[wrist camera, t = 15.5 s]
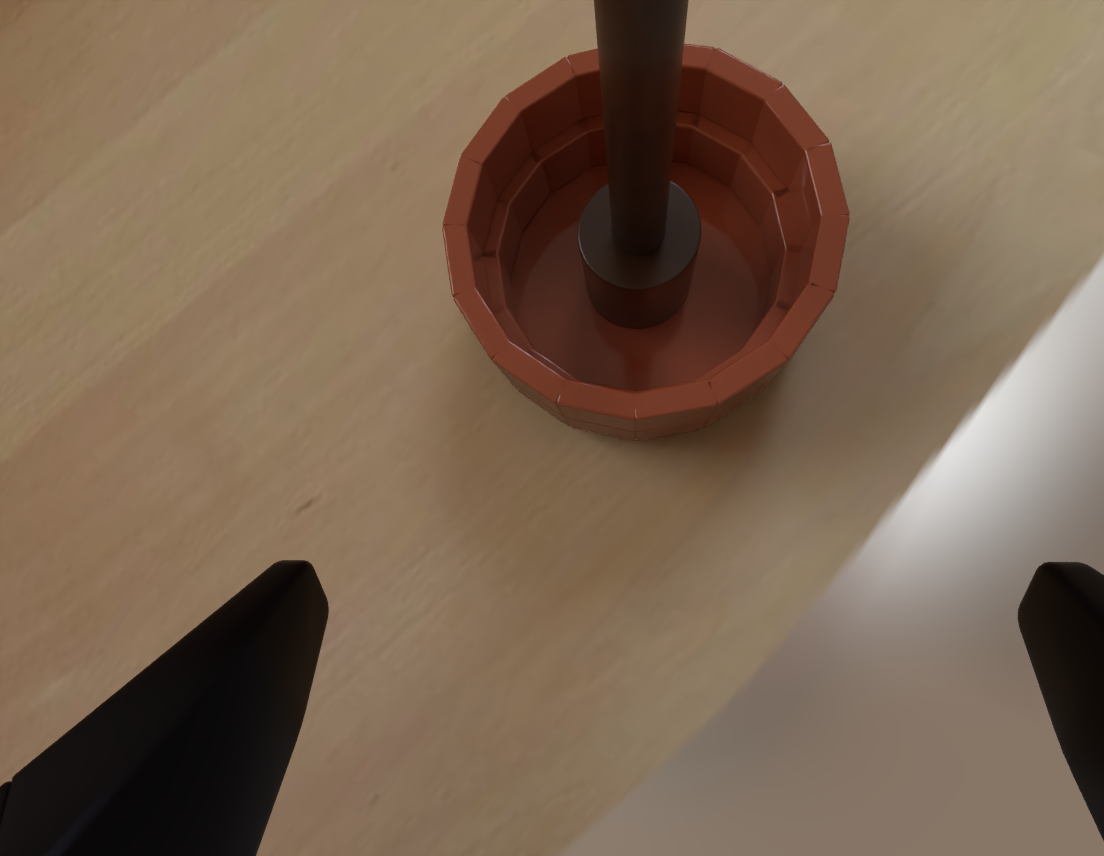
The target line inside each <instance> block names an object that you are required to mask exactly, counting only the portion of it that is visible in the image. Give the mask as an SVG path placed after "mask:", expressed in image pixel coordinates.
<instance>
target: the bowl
mask: <svg viewBox="0 0 1104 856" xmlns="http://www.w3.org/2000/svg"><path fill="white" fill-rule="evenodd" d="M670 181H672V182H674V183H675V184H677V185H678V186H680V187H681V188H682V189H683V190H684V191H685V192H686V193H687V194H688V195H689V196H690V198H691V199H692V200H693V202H694V204H695V206H696V207H697V210H698V213H699V216H700V220H701V240H700V244H699V249H698V253H697V258H696V262H695V267H694V271H693V276H692V280H691V285H690V289H689V292H688V295H687V298H686V299H685V301H684V303H683V305H682V306H681V307H680V309H679V310H678V311H677V312H676V313H675V314H674V315H673V316H671V317H670V318H669V319H667V320H666V321H664V322H662V323H660V324H658V325H654V326H651V327H646V328H628V327H623V326H620V325H617V324H615V323H613V322H611V321H609V320H608V319H606V318H605V317H604V316H603V315H601V314H600V313H599V311H598V310H597V309H596V308H595V306H594V305H593V303H592V301H591V299H590V297H589V294H588V290H587V285H586V280H585V275H584V270H583V265H582V260H581V255H580V250H579V245H578V236H577V231H578V223H579V219H580V216H581V214H582V211H583V209H584V207H585V205H586V204H587V202H588V201H589V199H590V198H591V197H592V196H593V195H594V194H595V193H596V192H597V191H598V190H599V189H600V188H601V187H603V186H604V185H606V184H607V183H608V173H607V160H606V148H605V135H604V122H603V109H602V97H601V84H600V71H599V58H598V49H593V50H589V51H585V52H581V53H577V54H572V55H569V56H568V57H564V58H563V59H561V60H559V61H558V62H556V63H555V64H553V65H552V66H550V67H549V68H547V69H546V70H544V71H543V72H541V73H540V74H538V75H537V76H535V77H533V78H532V79H530V80H529V81H527V82H526V83H524V84H523V85H521V86H520V87H518V88H517V89H515V90H514V91H512V92H510V93H509V94H507V95H506V96H505V98H502V100H501V101H500V102H499V104H498V105H497V107H496V108H495V109H494V111H493V112H492V113H491V115H490V116H489V117H488V119H487V120H486V121H485V123H484V124H483V126H482V127H481V128H480V130H479V131H478V132H477V134H476V135H475V136H474V138H473V139H472V140H471V142H470V143H469V145H468V146H467V147H466V149H465V150H464V151H463V153H462V154H461V158H460V160H459V163H458V167H457V171H456V175H455V179H454V182H453V186H452V190H451V194H450V198H449V202H448V205H447V209H446V213H445V217H444V221H443V229H442V231H443V238H444V245H445V251H446V258H447V265H448V272H449V279H450V286H451V292H452V296H453V297H454V302H455V303H456V305H457V306H458V308H459V310H460V311H461V313H462V314H463V316H464V318H465V319H466V321H467V322H468V324H469V325H470V327H471V329H472V330H473V332H474V333H475V335H476V337H477V338H478V340H479V341H480V343H481V345H482V346H483V348H484V349H485V351H486V353H487V354H488V356H489V357H490V359H491V360H492V361H493V362H494V364H495V365H496V366H497V367H498V368H499V369H500V371H501V372H502V373H503V374H504V375H505V376H506V378H507V379H508V380H509V381H510V382H511V383H512V385H513V386H514V387H515V388H516V389H517V390H518V392H519V393H521V394H522V395H524V396H525V397H527V398H528V399H530V400H531V401H532V402H534V403H535V404H537V405H538V406H540V407H541V408H543V409H544V410H546V411H547V412H548V413H550V414H551V415H553V416H554V417H556V418H557V419H559V420H560V421H561V422H563V423H564V424H566V425H567V426H571V427H572V428H575V429H580V430H585V431H590V432H594V433H599V434H604V435H608V436H613V437H618V438H623V439H627V440H632V441H633V440H635V439H636V440H645V439H650V438H656V437H661V436H667V435H672V434H678V433H684V432H689V431H695V430H700V429H701V428H705V427H707V426H709V425H710V424H712V423H713V422H715V421H716V420H718V419H720V418H721V417H723V416H724V415H726V414H727V413H729V412H731V411H732V410H734V409H735V408H737V407H739V406H740V405H742V404H743V403H745V402H746V401H748V400H750V399H751V398H753V397H754V396H756V395H757V394H759V393H760V391H762V390H763V389H764V388H765V387H766V385H767V384H768V383H769V382H770V381H771V380H772V379H773V378H774V377H775V375H776V374H777V373H778V372H779V371H780V370H781V369H782V368H783V367H784V365H785V364H786V363H787V362H788V361H789V360H790V359H791V357H792V356H793V355H794V353H795V352H796V350H797V349H798V347H799V346H800V344H801V343H802V342H803V340H804V339H805V337H806V336H807V334H808V333H809V331H810V330H811V329H812V327H813V326H814V324H815V323H816V321H817V320H818V318H819V317H820V315H821V314H822V313H823V311H824V310H825V308H826V307H827V305H828V304H829V302H830V301H831V300H832V298H833V297H834V293H835V292H836V290H837V284H838V279H839V273H840V268H841V263H842V257H843V252H844V246H845V241H846V235H847V230H848V225H849V219H850V218H849V210H848V207H847V203H846V199H845V195H844V191H843V187H842V183H841V179H840V176H839V172H838V168H837V164H836V160H835V156H834V152H833V149H832V145H831V143H829V139H828V138H827V137H826V136H825V134H824V133H823V132H822V131H821V129H820V128H819V127H818V126H817V124H816V123H815V122H814V121H813V119H812V118H811V117H810V116H809V115H808V113H807V112H806V111H805V110H804V108H803V107H802V106H801V105H800V103H799V102H798V101H797V100H796V98H795V97H794V96H793V95H792V94H791V92H790V91H789V90H788V89H787V87H786V86H785V85H782V82H781V81H779V80H777V79H775V78H773V77H771V76H769V75H767V74H766V73H764V72H762V71H760V70H758V69H756V68H754V67H752V66H751V65H749V64H747V63H745V62H743V61H741V60H739V59H737V58H736V57H734V56H732V55H730V54H728V53H726V52H724V51H722V50H721V49H719V48H717V49H715V48H714V47H708V46H699V45H691V44H684V50H683V60H682V70H681V80H680V90H679V100H678V110H677V120H676V130H675V140H674V150H673V160H672V170H671V180H670Z"/></svg>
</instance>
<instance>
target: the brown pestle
mask: <svg viewBox="0 0 1104 856" xmlns="http://www.w3.org/2000/svg"><path fill="white" fill-rule="evenodd" d="M594 7H595V20H596V33H597V46H598V58H599V71H600V84H601V97H602V109H603V122H604V135H605V148H606V160H607V173H608V183H607V184H606V185H604V186H603V187H601V188H600V189H599V190H598V191H597V192H596V193H595V194H594V195H593V196H592V197H591V198H590V199H589V201H588V202H587V204H586V205H585V207H584V209H583V211H582V214H581V216H580V219H579V223H578V231H577V236H578V245H579V250H580V255H581V260H582V265H583V270H584V275H585V280H586V285H587V290H588V294H589V297H590V299H591V301H592V303H593V305H594V306H595V308H596V309H597V310H598V311H599V313H600V314H601V315H603V316H604V317H605V318H606V319H608V320H609V321H611V322H613V323H615V324H617V325H620V326H623V327H628V328H646V327H651V326H654V325H658V324H660V323H662V322H664V321H666V320H667V319H669V318H670V317H671V316H673V315H674V314H675V313H676V312H677V311H678V310H679V309H680V307H681V306H682V305H683V303H684V301H685V299H686V298H687V295H688V292H689V289H690V285H691V280H692V276H693V271H694V267H695V262H696V258H697V253H698V249H699V244H700V240H701V220H700V216H699V213H698V210H697V207H696V206H695V204H694V202H693V200H692V199H691V198H690V196H689V195H688V194H687V193H686V192H685V191H684V190H683V189H682V188H681V187H680V186H678V185H677V184H675V183H674V182H672V181H670V180H671V170H672V160H673V150H674V140H675V130H676V120H677V110H678V100H679V90H680V80H681V70H682V60H683V50H684V39H685V29H686V19H687V9H688V0H594Z"/></svg>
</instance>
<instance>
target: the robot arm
mask: <svg viewBox="0 0 1104 856" xmlns="http://www.w3.org/2000/svg"><path fill="white" fill-rule="evenodd" d="M328 612H329V607H328V601H327V598H326V595H325V593H324V591H323V588H322V586H321V584H320V581H319V579H318V577H317V574H316V572H315V569H314V567H313V566H312V564H311V563H309V562H308V561H305V560H282V561H278V562H276V563H274V564H273V565H272V566H270V567H269V568H268V569H267V570H265V571H264V572H263V573H262V574H261V575H259V576H258V577H257V578H256V579H254V580H253V581H252V582H251V583H249V584H248V585H247V586H246V587H245V588H243V589H242V590H241V591H240V592H238V593H237V594H236V595H235V596H234V597H232V598H231V599H230V600H229V601H227V602H226V603H225V604H224V605H223V606H221V607H220V608H219V609H218V610H216V611H215V612H214V613H213V614H211V615H210V616H209V617H208V618H207V619H205V620H204V621H203V622H202V623H200V624H199V625H198V626H197V627H196V628H194V629H193V630H192V631H191V632H189V633H188V634H187V635H186V636H184V637H183V638H182V639H181V640H180V641H178V642H177V643H176V644H175V645H173V646H172V647H171V648H170V649H169V650H167V651H166V652H165V653H164V654H162V655H161V656H160V657H159V658H158V659H156V660H155V661H154V662H153V663H151V664H150V665H149V666H148V667H146V668H145V669H144V670H143V671H142V672H140V673H139V674H138V675H137V676H135V677H134V678H133V679H132V680H131V681H129V682H128V683H127V684H126V685H124V686H123V687H122V688H121V689H120V690H118V691H117V692H116V693H115V694H113V695H112V696H111V697H110V698H108V699H107V700H106V701H105V702H104V703H102V704H101V705H100V706H99V707H97V708H96V709H95V710H94V711H93V712H91V713H90V714H89V715H88V716H86V717H85V718H84V719H83V720H82V721H80V722H79V723H78V724H77V725H75V726H74V727H73V728H72V729H70V730H69V731H68V732H67V733H66V734H64V735H63V736H62V737H61V738H59V739H58V740H57V741H56V742H55V743H53V744H52V745H51V746H50V747H48V748H47V749H46V750H45V751H43V752H42V753H41V754H40V755H39V756H37V757H36V758H35V759H34V760H32V761H31V762H30V763H29V764H28V765H26V766H25V767H24V768H23V769H21V770H20V771H19V772H18V773H16V774H15V775H14V777H13V779H12V782H10V781H9V782H5V783H4V784H3V785H1V786H0V856H256V854H257V851H258V848H259V845H260V843H261V840H262V837H263V834H264V831H265V828H266V826H267V823H268V820H269V817H270V814H271V812H272V809H273V806H274V803H275V800H276V798H277V795H278V792H279V789H280V786H281V783H282V781H283V778H284V775H285V772H286V769H287V767H288V764H289V761H290V758H291V755H292V752H293V750H294V747H295V744H296V741H297V738H298V735H299V732H300V729H301V726H302V722H303V718H304V714H305V711H306V707H307V703H308V699H309V694H310V690H311V686H312V682H313V678H314V674H315V669H316V665H317V661H318V657H319V653H320V649H321V645H322V640H323V636H324V632H325V628H326V624H327V619H328ZM1018 622H1019V627H1020V631H1021V634H1022V636H1023V639H1024V642H1025V645H1026V648H1027V651H1028V654H1029V657H1030V660H1031V663H1032V666H1033V669H1034V672H1035V674H1036V677H1037V680H1038V683H1039V686H1040V689H1041V692H1042V695H1043V698H1044V701H1045V703H1046V707H1047V710H1048V712H1049V715H1050V718H1051V721H1052V724H1053V727H1054V730H1055V732H1056V735H1057V738H1058V740H1059V743H1060V746H1061V749H1062V751H1063V754H1064V756H1065V758H1066V760H1067V763H1068V765H1069V767H1070V770H1071V772H1072V774H1073V776H1074V778H1075V780H1076V783H1077V785H1078V787H1079V789H1080V791H1081V793H1082V796H1083V798H1084V800H1085V802H1086V804H1087V806H1088V808H1089V810H1090V813H1091V815H1092V817H1093V819H1094V821H1095V823H1096V825H1097V828H1098V830H1099V832H1100V834H1101V836H1102V838H1103V840H1104V575H1103V574H1101V573H1100V572H1098V571H1096V570H1095V569H1093V568H1092V567H1090V566H1088V565H1086V564H1083V563H1079V562H1046V563H1044V564H1042V565H1041V566H1039V567H1038V569H1037V570H1036V572H1035V574H1034V576H1033V578H1032V580H1031V582H1030V585H1029V587H1028V589H1027V591H1026V593H1025V595H1024V597H1023V599H1022V601H1021V603H1020V606H1019V609H1018Z"/></svg>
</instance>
